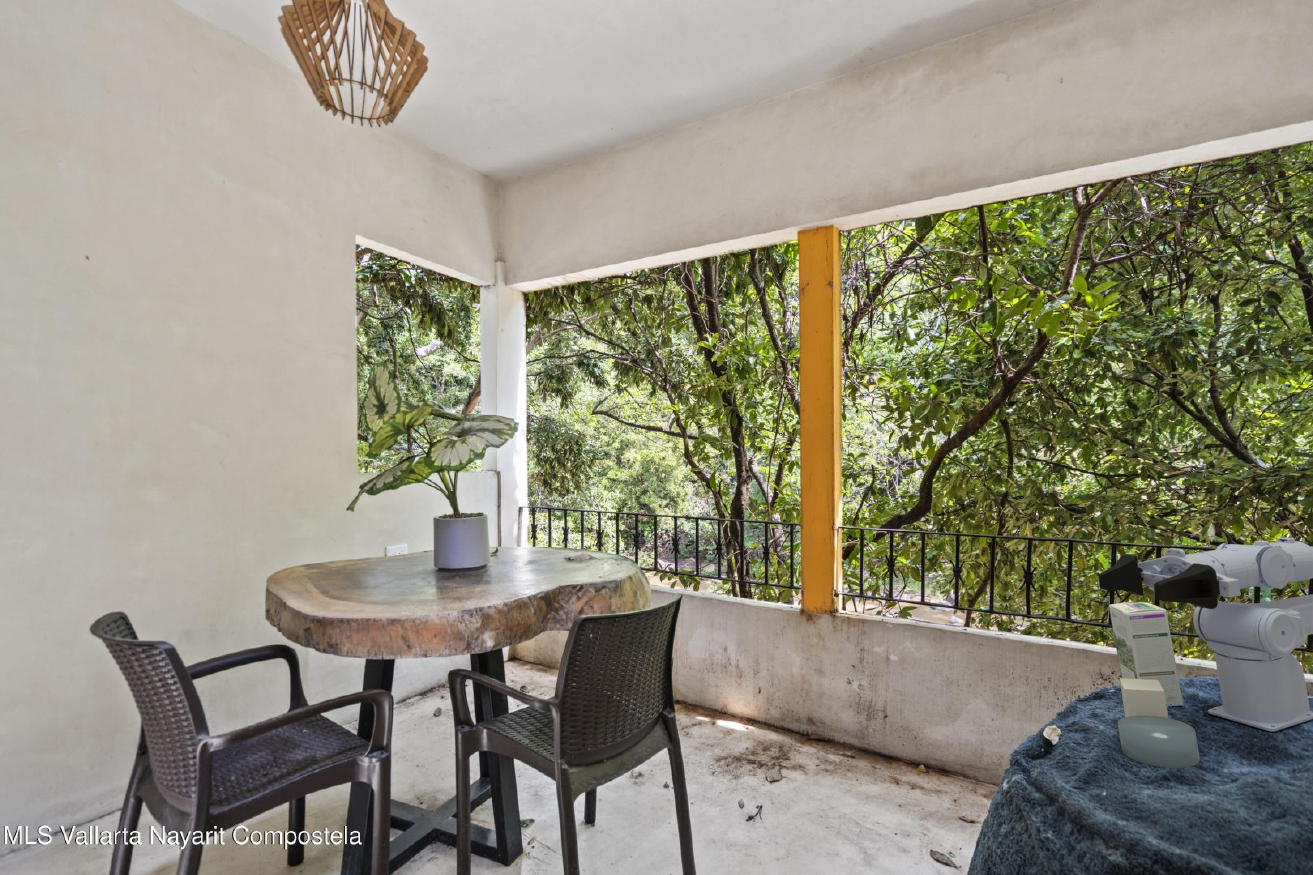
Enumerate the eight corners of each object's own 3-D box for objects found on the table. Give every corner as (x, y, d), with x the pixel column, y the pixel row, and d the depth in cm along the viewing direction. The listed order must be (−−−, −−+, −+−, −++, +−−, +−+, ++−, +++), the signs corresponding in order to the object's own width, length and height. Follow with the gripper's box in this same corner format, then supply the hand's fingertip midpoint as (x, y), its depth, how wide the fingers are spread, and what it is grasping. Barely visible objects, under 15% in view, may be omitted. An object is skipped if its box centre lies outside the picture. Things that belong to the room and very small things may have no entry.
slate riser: (1151, 736, 88) (1147, 710, 88) (1216, 759, 81) (1211, 731, 81) (1107, 750, 86) (1102, 723, 86) (1168, 775, 78) (1164, 745, 79)
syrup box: (1185, 707, 96) (1169, 608, 96) (1140, 708, 97) (1125, 611, 98) (1163, 693, 101) (1148, 600, 102) (1121, 695, 102) (1107, 603, 103)
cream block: (1125, 720, 94) (1119, 678, 94) (1164, 722, 92) (1157, 679, 92) (1130, 732, 90) (1124, 688, 90) (1171, 735, 88) (1164, 690, 88)
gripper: (1148, 539, 97) (1076, 549, 93) (1261, 551, 83) (1182, 564, 79) (1153, 586, 96) (1081, 598, 93) (1267, 606, 82) (1187, 622, 79)
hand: (1128, 586), depth 86 cm, fingers open, 7 cm apart
